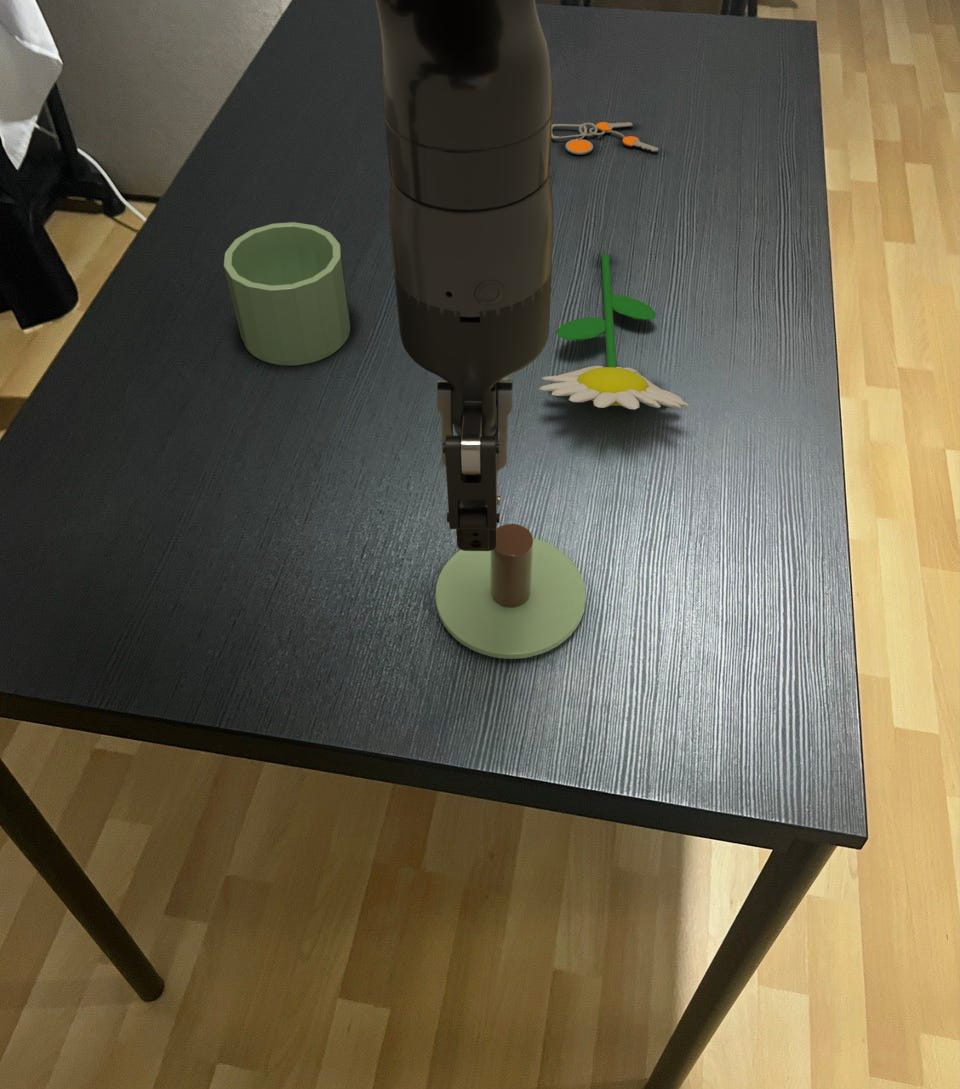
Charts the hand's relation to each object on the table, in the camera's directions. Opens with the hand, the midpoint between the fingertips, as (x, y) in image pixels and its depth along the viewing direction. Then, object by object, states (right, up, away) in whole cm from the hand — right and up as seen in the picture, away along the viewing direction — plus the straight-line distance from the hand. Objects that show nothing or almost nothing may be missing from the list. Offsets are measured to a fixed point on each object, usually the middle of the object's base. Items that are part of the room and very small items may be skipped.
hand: (479, 491), depth 59 cm
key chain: (+15, +45, +59) cm, 76 cm away
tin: (-18, +18, +37) cm, 44 cm away
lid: (+2, -7, +15) cm, 17 cm away
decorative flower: (+12, +15, +34) cm, 39 cm away
